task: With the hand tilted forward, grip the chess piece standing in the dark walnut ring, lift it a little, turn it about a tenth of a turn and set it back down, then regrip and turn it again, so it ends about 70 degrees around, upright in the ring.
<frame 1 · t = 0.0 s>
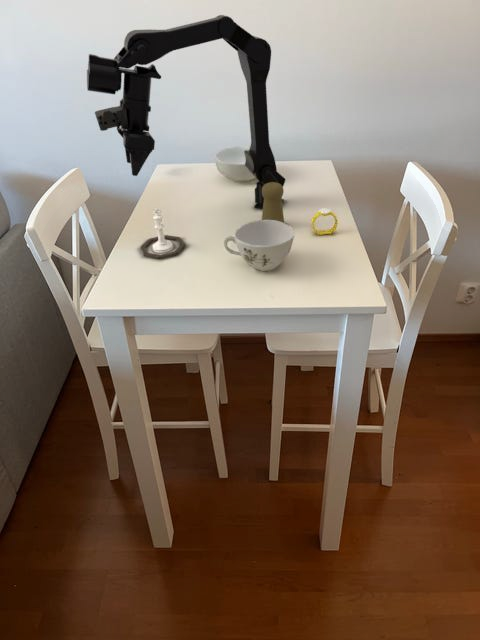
hand: (131, 168, 110), 15 cm above the table, tool pointing down, fingers open, 9 cm apart
watch: (323, 234, 113), on the table
cork: (272, 227, 117), on the table
spot ring: (163, 247, 111), on the table
chess piece: (163, 248, 111), resting in spot ring
cereal bowl: (243, 177, 144), on the table
teacup: (259, 265, 103), on the table
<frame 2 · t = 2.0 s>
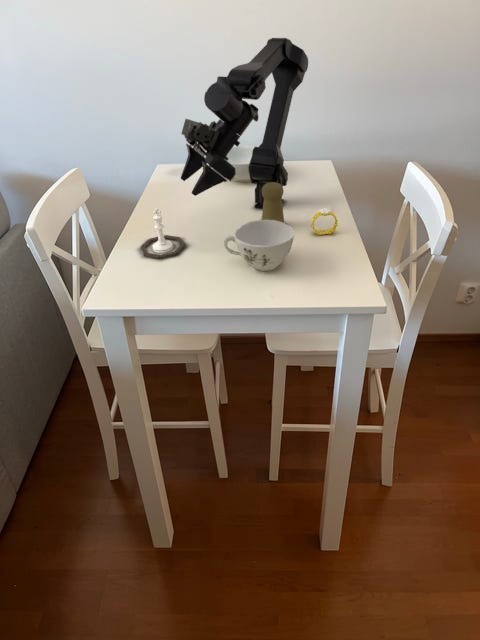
hand: (187, 186, 105), 13 cm above the table, tool tilted 45°, fingers open, 9 cm apart
nothing on the table moved.
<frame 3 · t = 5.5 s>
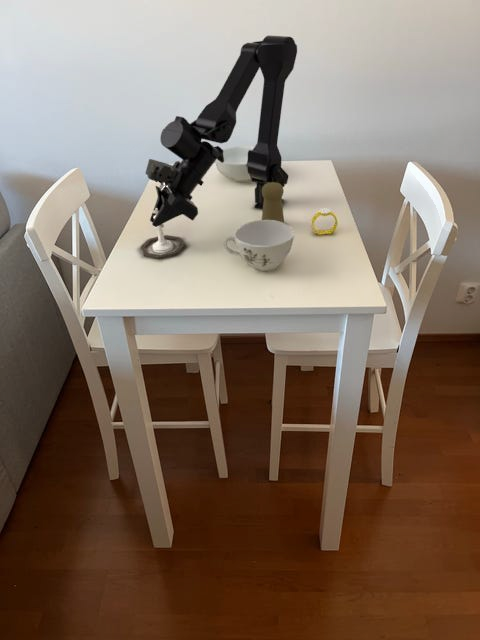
hand: (152, 223, 107), 7 cm above the table, tool tilted 45°, fingers closed on chess piece
chess piece: (163, 248, 111), resting in spot ring, touching gripper
everything else where it was.
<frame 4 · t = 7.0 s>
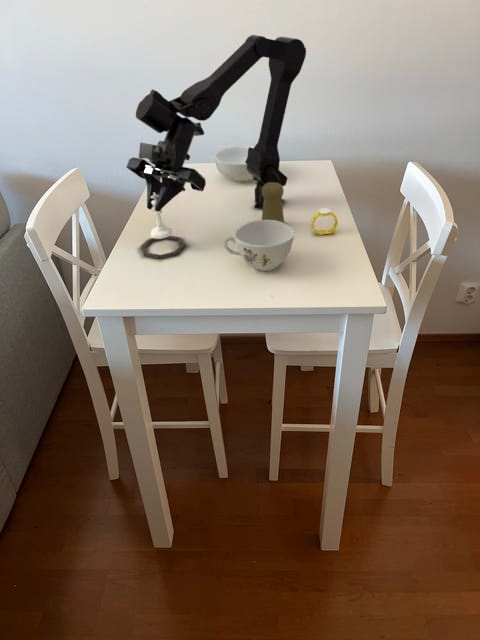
hand: (152, 209, 104), 10 cm above the table, tool tilted 45°, fingers closed on chess piece
chess piece: (161, 234, 109), point 3 cm above the table, touching gripper
everything else where it was.
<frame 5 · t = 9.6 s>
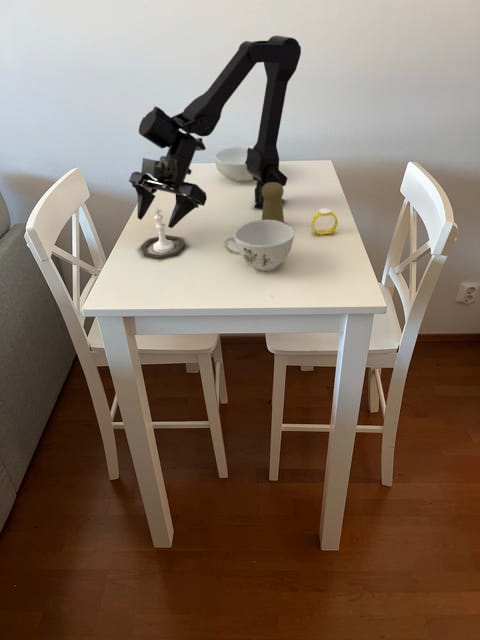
hand: (154, 223, 106), 7 cm above the table, tool tilted 45°, fingers open, 9 cm apart
chess piece: (163, 248, 111), resting in spot ring
everything else where it was.
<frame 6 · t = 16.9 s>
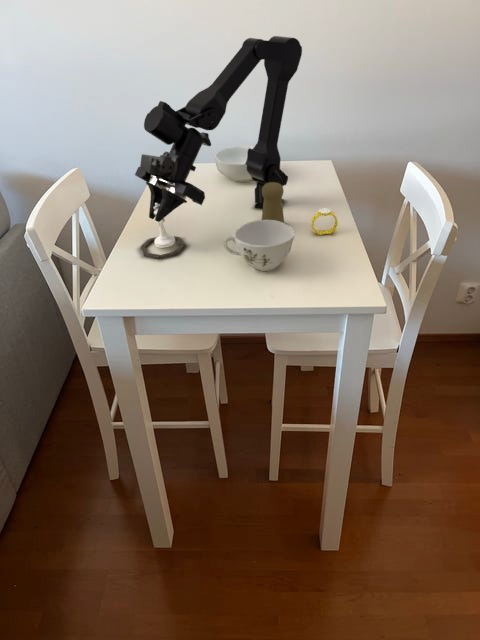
hand: (153, 219, 105), 8 cm above the table, tool tilted 40°, fingers closed on chess piece, 2 cm apart
chess piece: (165, 242, 110), point 1 cm above the table, touching gripper
everything else where it was.
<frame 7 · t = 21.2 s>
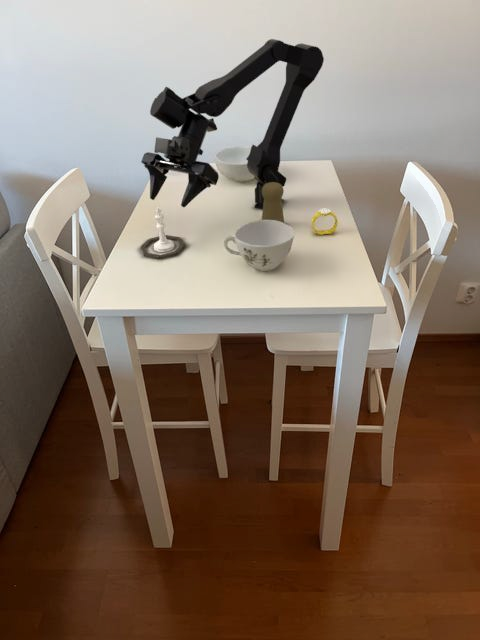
hand: (166, 202, 107), 10 cm above the table, tool tilted 45°, fingers open, 9 cm apart
chess piece: (164, 247, 111), resting in spot ring
everything else where it was.
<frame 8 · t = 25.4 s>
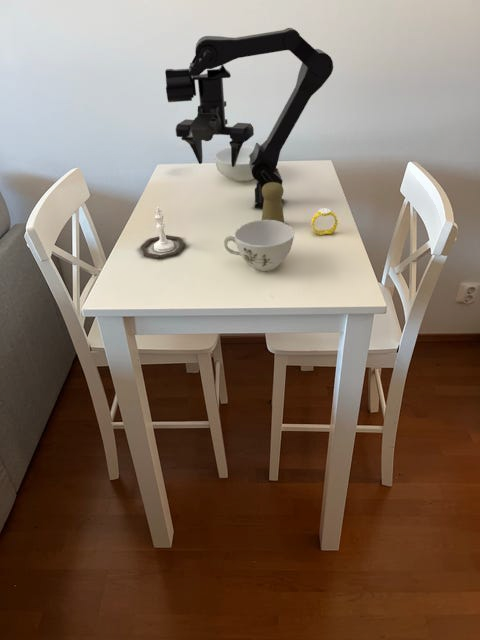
hand: (216, 165, 119), 12 cm above the table, tool pointing down, fingers open, 9 cm apart
nothing on the table moved.
at the end: chess piece 0.4 cm off-centre on the spot ring, point 0.0 cm above the spot ring's base; chess piece tilted 0°; the gripper is holding nothing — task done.
